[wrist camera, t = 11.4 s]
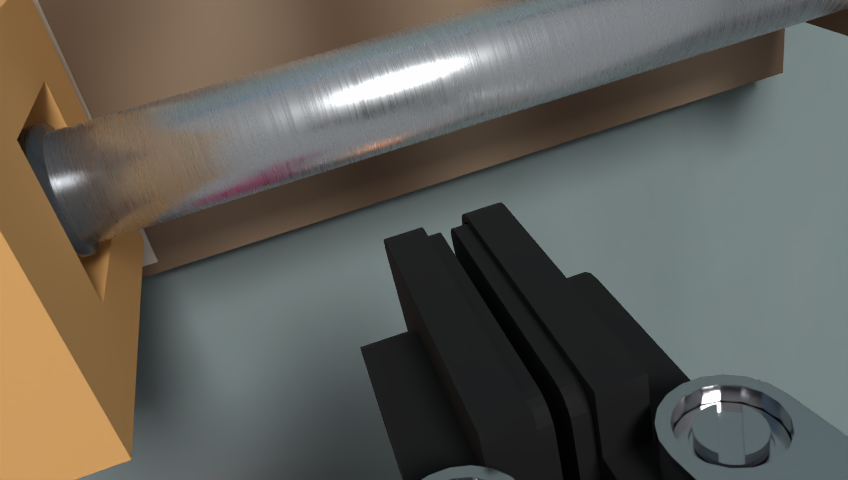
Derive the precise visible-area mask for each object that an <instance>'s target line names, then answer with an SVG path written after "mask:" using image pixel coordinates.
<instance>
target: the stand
mask: <svg viewBox="0 0 848 480" xmlns="http://www.w3.org/2000/svg"><path fill="white" fill-rule="evenodd" d="M499 1H502V0H33V2H34V4H35V7H36V9H37V11H38V13H39V15H40V17H41V19H42V22H43V24H44V26H45V28H46V30H47V32H48V35H49V37H50V39H51V41H52V43H53V45H54V48H55V50H56V52H57V54H58V56H59V58H60V61H61V63H62V65H63V67H64V69H65V71H66V73H67V76H68V78H69V80H70V82H71V84H72V86H73V89H74V91H75V93H76V95H77V97H78V99H79V102H80V104H81V106H82V108H83V110H84V112H85V115H86V117H87V119H88V120H91V119H95V118H98V117H102V116H105V115H109V114H112V113H116V112H119V111H122V110H126V109H129V108H133V107H136V106H140V105H143V104H147V103H150V102H154V101H157V100H160V99H164V98H167V97H171V96H174V95H178V94H181V93H185V92H188V91H192V90H195V89H198V88H202V87H205V86H209V85H212V84H216V83H219V82H223V81H226V80H230V79H233V78H236V77H240V76H243V75H247V74H250V73H254V72H257V71H261V70H264V69H268V68H271V67H274V66H278V65H281V64H285V63H288V62H292V61H295V60H299V59H302V58H306V57H309V56H312V55H316V54H319V53H323V52H326V51H330V50H333V49H337V48H340V47H343V46H347V45H350V44H354V43H357V42H361V41H364V40H368V39H371V38H375V37H378V36H381V35H385V34H388V33H392V32H395V31H399V30H402V29H406V28H409V27H413V26H416V25H419V24H423V23H426V22H430V21H433V20H437V19H440V18H444V17H447V16H451V15H454V14H457V13H461V12H464V11H468V10H471V9H475V8H478V7H482V6H485V5H489V4H492V3H495V2H499ZM806 23H809V24H812V25H816V26H819V27H822V28H825V29H828V30H831V31H834V32H837V33H840V34H844V35H847V36H848V8H847V9H844V10H841V11H838V12H835V13H831V14H828V15H825V16H822V17H819V18H815V19H812V20H809V21H806ZM784 33H785V28H783V29H780V30H777V31H774V32H771V33H767V34H764V35H761V36H758V37H755V38H751V39H748V40H745V41H742V42H739V43H735V44H732V45H729V46H726V47H722V48H719V49H716V50H713V51H710V52H706V53H703V54H700V55H697V56H694V57H690V58H687V59H684V60H681V61H678V62H674V63H671V64H668V65H665V66H662V67H658V68H655V69H652V70H649V71H646V72H642V73H639V74H636V75H633V76H630V77H626V78H623V79H620V80H617V81H614V82H610V83H607V84H604V85H601V86H598V87H594V88H591V89H588V90H585V91H581V92H578V93H575V94H572V95H569V96H565V97H562V98H559V99H556V100H553V101H549V102H546V103H543V104H540V105H537V106H533V107H530V108H527V109H524V110H521V111H517V112H514V113H511V114H508V115H505V116H501V117H498V118H495V119H492V120H489V121H485V122H482V123H479V124H476V125H473V126H469V127H466V128H463V129H460V130H457V131H453V132H450V133H447V134H444V135H440V136H437V137H434V138H431V139H428V140H424V141H421V142H418V143H415V144H412V145H408V146H405V147H402V148H399V149H396V150H392V151H389V152H386V153H383V154H380V155H376V156H373V157H370V158H367V159H364V160H360V161H357V162H354V163H351V164H348V165H344V166H341V167H338V168H335V169H332V170H328V171H325V172H322V173H319V174H316V175H312V176H309V177H306V178H303V179H299V180H296V181H293V182H290V183H287V184H283V185H280V186H277V187H274V188H271V189H267V190H264V191H261V192H258V193H255V194H251V195H248V196H245V197H242V198H239V199H235V200H232V201H229V202H226V203H223V204H219V205H216V206H213V207H210V208H207V209H203V210H200V211H197V212H194V213H191V214H187V215H184V216H181V217H178V218H175V219H171V220H168V221H165V222H162V223H158V224H155V225H152V226H149V227H146V228H142V229H139V231H140V233H141V235H142V238H143V240H144V248H143V265H142V278H144V277H148V276H151V275H154V274H157V273H160V272H163V271H166V270H169V269H172V268H176V267H179V266H182V265H185V264H188V263H191V262H194V261H197V260H200V259H204V258H207V257H210V256H213V255H216V254H219V253H222V252H225V251H228V250H232V249H235V248H238V247H241V246H244V245H247V244H250V243H253V242H257V241H260V240H263V239H266V238H269V237H272V236H275V235H278V234H281V233H285V232H288V231H291V230H294V229H297V228H300V227H303V226H306V225H309V224H313V223H316V222H319V221H322V220H325V219H328V218H331V217H334V216H337V215H341V214H344V213H347V212H350V211H353V210H356V209H359V208H362V207H366V206H369V205H372V204H375V203H378V202H381V201H384V200H387V199H390V198H394V197H397V196H400V195H403V194H406V193H409V192H412V191H415V190H418V189H422V188H425V187H428V186H431V185H434V184H437V183H440V182H443V181H446V180H450V179H453V178H456V177H459V176H462V175H465V174H468V173H471V172H475V171H478V170H481V169H484V168H487V167H490V166H493V165H496V164H499V163H503V162H506V161H509V160H512V159H515V158H518V157H521V156H524V155H527V154H531V153H534V152H537V151H540V150H543V149H546V148H549V147H552V146H555V145H559V144H562V143H565V142H568V141H571V140H574V139H577V138H580V137H584V136H587V135H590V134H593V133H596V132H599V131H602V130H605V129H608V128H612V127H615V126H618V125H621V124H624V123H627V122H630V121H633V120H636V119H640V118H643V117H646V116H649V115H652V114H655V113H658V112H661V111H665V110H668V109H671V108H674V107H677V106H680V105H683V104H686V103H689V102H693V101H696V100H699V99H702V98H705V97H708V96H711V95H714V94H717V93H721V92H724V91H727V90H730V89H733V88H736V87H739V86H742V85H745V84H749V83H752V82H755V81H758V80H761V79H764V78H767V77H770V76H774V75H777V74H780V73H783V55H784Z"/></svg>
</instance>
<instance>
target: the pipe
mask: <svg viewBox="0 0 848 480" xmlns="http://www.w3.org/2000/svg"><path fill="white" fill-rule="evenodd" d="M847 8H848V0H502V1H499V2H495V3H492V4H489V5H485V6H482V7H478V8H475V9H471V10H468V11H464V12H461V13H457V14H454V15H451V16H447V17H444V18H440V19H437V20H433V21H430V22H426V23H423V24H419V25H416V26H413V27H409V28H406V29H402V30H399V31H395V32H392V33H388V34H385V35H381V36H378V37H375V38H371V39H368V40H364V41H361V42H357V43H354V44H350V45H347V46H343V47H340V48H337V49H333V50H330V51H326V52H323V53H319V54H316V55H312V56H309V57H306V58H302V59H299V60H295V61H292V62H288V63H285V64H281V65H278V66H274V67H271V68H268V69H264V70H261V71H257V72H254V73H250V74H247V75H243V76H240V77H236V78H233V79H230V80H226V81H223V82H219V83H216V84H212V85H209V86H205V87H202V88H198V89H195V90H192V91H188V92H185V93H181V94H178V95H174V96H171V97H167V98H164V99H160V100H157V101H154V102H150V103H147V104H143V105H140V106H136V107H133V108H129V109H126V110H122V111H119V112H116V113H112V114H109V115H105V116H102V117H98V118H95V119H91V120H88V121H84V122H81V123H78V124H74V125H71V126H67V127H64V128H60V129H57V130H56V129H55V128H54V127H52V126H51V125H50V124H48V123H40V124H37V125H33V126H30V127H26V128H23V129H22V130H21V132H20V134H19V136H18V138H17V141H18V143H19V145H20V147H21V149H22V151H23V153H24V155H25V156H26V158H27V160H28V162H29V164H30V166H31V168H32V170H33V172H34V174H35V176H36V178H37V179H38V181H39V183H40V185H41V187H42V189H43V191H44V193H45V195H46V197H47V199H48V200H49V202H50V204H51V206H52V208H53V210H54V212H55V214H56V216H57V218H58V220H59V222H60V223H61V225H62V227H63V229H64V231H65V233H66V235H67V237H68V239H69V241H70V243H71V244H72V246H73V248H74V250H75V252H76V254H77V256H78V258H82V257H85V256H89V255H92V254H95V253H96V252H97V250H98V247H99V242H101V241H104V240H107V239H110V238H114V237H117V236H120V235H123V234H126V233H130V232H133V231H136V230H139V229H142V228H146V227H149V226H152V225H155V224H158V223H162V222H165V221H168V220H171V219H175V218H178V217H181V216H184V215H187V214H191V213H194V212H197V211H200V210H203V209H207V208H210V207H213V206H216V205H219V204H223V203H226V202H229V201H232V200H235V199H239V198H242V197H245V196H248V195H251V194H255V193H258V192H261V191H264V190H267V189H271V188H274V187H277V186H280V185H283V184H287V183H290V182H293V181H296V180H299V179H303V178H306V177H309V176H312V175H316V174H319V173H322V172H325V171H328V170H332V169H335V168H338V167H341V166H344V165H348V164H351V163H354V162H357V161H360V160H364V159H367V158H370V157H373V156H376V155H380V154H383V153H386V152H389V151H392V150H396V149H399V148H402V147H405V146H408V145H412V144H415V143H418V142H421V141H424V140H428V139H431V138H434V137H437V136H440V135H444V134H447V133H450V132H453V131H457V130H460V129H463V128H466V127H469V126H473V125H476V124H479V123H482V122H485V121H489V120H492V119H495V118H498V117H501V116H505V115H508V114H511V113H514V112H517V111H521V110H524V109H527V108H530V107H533V106H537V105H540V104H543V103H546V102H549V101H553V100H556V99H559V98H562V97H565V96H569V95H572V94H575V93H578V92H581V91H585V90H588V89H591V88H594V87H598V86H601V85H604V84H607V83H610V82H614V81H617V80H620V79H623V78H626V77H630V76H633V75H636V74H639V73H642V72H646V71H649V70H652V69H655V68H658V67H662V66H665V65H668V64H671V63H674V62H678V61H681V60H684V59H687V58H690V57H694V56H697V55H700V54H703V53H706V52H710V51H713V50H716V49H719V48H722V47H726V46H729V45H732V44H735V43H739V42H742V41H745V40H748V39H751V38H755V37H758V36H761V35H764V34H767V33H771V32H774V31H777V30H780V29H783V28H787V27H790V26H793V25H796V24H799V23H803V22H806V21H809V20H812V19H815V18H819V17H822V16H825V15H828V14H831V13H835V12H838V11H841V10H844V9H847Z"/></svg>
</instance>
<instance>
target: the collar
mask: <svg viewBox="0 0 848 480" xmlns="http://www.w3.org/2000/svg"><path fill="white" fill-rule="evenodd" d="M84 121H88V119H87V117H86V115H85V112H84V110H83V108H82V106H81V104H80V102H79V99H78V97H77V95H76V93H75V91H74V89H73V86H72V84H71V82H70V80H69V78H68V76H67V73H66V71H65V69H64V67H63V65H62V63H61V61H60V58H59V56H58V54H57V52H56V50H55V48H54V45H53V43H52V41H51V39H50V37H49V35H48V32H47V30H46V28H45V26H44V24H43V22H42V19H41V17H40V15H39V13H38V11H37V9H36V7H35V4H34V2H33V0H0V480H75V479H78V478H81V477H84V476H87V475H89V474H92V473H95V472H98V471H101V470H104V469H106V468H109V467H112V466H115V465H118V464H121V463H123V462H126V461H129V460H131V459H132V441H133V423H134V406H135V388H136V371H137V353H138V336H139V318H140V301H141V283H142V265H143V248H144V240H143V238H142V235H141V233H140V231H139V230H136V231H133V232H130V233H126V234H123V235H120V236H117V237H114V238H110V239H107V240H104V241H101V242H99V247H98V250H97V252H96V253H95V254H92V255H89V256H85V257H82V258H78V256H77V254H76V252H75V250H74V248H73V246H72V244H71V243H70V241H69V239H68V237H67V235H66V233H65V231H64V229H63V227H62V225H61V223H60V222H59V220H58V218H57V216H56V214H55V212H54V210H53V208H52V206H51V204H50V202H49V200H48V199H47V197H46V195H45V193H44V191H43V189H42V187H41V185H40V183H39V181H38V179H37V178H36V176H35V174H34V172H33V170H32V168H31V166H30V164H29V162H28V160H27V158H26V156H25V155H24V153H23V151H22V149H21V147H20V145H19V143H18V141H17V138H18V136H19V134H20V132H21V130H22V129H23V128H26V127H30V126H33V125H37V124H40V123H48V124H50V125H51V126H52V127H54V128H55V129H56V130H57V129H60V128H64V127H67V126H71V125H74V124H78V123H81V122H84Z"/></svg>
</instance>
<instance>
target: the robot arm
mask: <svg viewBox="0 0 848 480" xmlns="http://www.w3.org/2000/svg"><path fill="white" fill-rule="evenodd" d="M451 236H452V242H453V246H454V251H455V254H454V253H453V251H452V250H451V248H450V246H449V245H448V243H447V242H446V240H445V238H444V237H443V235H442V234H441V233H437V234H434V235H431V236H428V235H427V233H426V232H425V230H424V229H423V227H422V228H418V229H415V230H412V231H409V232H406V233H402V234H399V235H396V236H393V237H390V238H387V239H384V244H385V249H386V253H387V257H388V260H389V264H390V267H391V271H392V275H393V278H394V282H395V286H396V289H397V293H398V297H399V300H400V304H401V308H402V311H403V315H404V319H405V322H406V326H407V329H408V332H405V333H402V334H399V335H396V336H393V337H390V338H387V339H384V340H381V341H378V342H375V343H372V344H369V345H366V346H363V347H360V348H361V351H362V355H363V358H364V361H365V364H366V367H367V370H368V374H369V377H370V380H371V383H372V386H373V389H374V392H375V396H376V399H377V402H378V405H379V408H380V411H381V414H382V417H383V421H384V424H385V427H386V430H387V433H388V436H389V439H390V442H391V445H392V448H393V451H394V454H395V458H396V461H397V464H398V467H399V470H400V473H401V476H402V479H403V480H848V436H846V435H845V434H844V433H842V432H841V431H839V430H838V429H837V428H835V427H834V426H832V425H831V424H830V423H828V422H827V421H825V420H824V419H823V418H821V417H820V416H818V415H817V414H816V413H814V412H813V411H811V410H810V409H809V408H807V407H806V406H804V405H803V404H802V403H800V402H799V401H797V400H796V399H795V398H793V397H792V396H790V395H789V394H787V393H786V392H784V391H782V390H780V389H778V388H776V387H775V386H773V385H771V384H769V383H767V382H763V381H760V380H756V379H753V378H749V377H746V376H734V375H715V376H706V377H700V378H697V379H694V380H691V381H690V379H689V378H688V377H687V376H686V375H685V374H684V373H683V372H682V371H681V370H680V369H679V367H678V366H677V365H676V364H675V363H674V362H673V361H672V360H671V359H670V358H669V357H668V355H667V354H666V353H665V352H664V351H663V350H662V349H661V348H660V347H659V346H658V345H657V344H656V342H655V341H654V340H653V339H652V338H651V337H650V336H649V335H648V334H647V333H646V332H645V330H644V329H643V328H642V327H641V326H640V325H639V324H638V323H637V322H636V321H635V320H634V318H633V317H632V316H631V315H630V314H629V313H628V312H627V311H626V310H625V309H624V308H623V307H622V305H621V304H620V303H619V302H618V301H617V300H616V299H615V298H614V297H613V296H612V295H611V293H610V292H609V291H608V290H607V289H606V288H605V287H604V286H603V285H602V284H601V283H600V281H599V280H598V279H597V278H596V277H594V276H593V275H592V274H591V273H587V272H584V273H581V274H578V275H575V276H572V277H569V278H566V277H565V276H564V275H563V273H562V272H561V271H560V270H559V269H558V268H557V266H556V265H555V264H554V263H553V262H552V260H551V259H550V258H549V257H548V256H547V255H546V253H545V252H544V251H543V250H542V249H541V248H540V246H539V245H538V244H537V243H536V242H535V240H534V239H533V238H532V237H531V236H530V235H529V233H528V232H527V231H526V230H525V229H524V228H523V226H522V225H521V224H520V223H519V222H518V221H517V219H516V218H515V217H514V216H513V215H512V213H511V212H510V211H509V210H508V209H507V208H506V206H505V205H504V204H503V203H497V204H494V205H490V206H487V207H484V208H481V209H478V210H475V211H472V212H468V213H465V214H463V215H462V226H459V227H456V228H452V229H451ZM455 255H456V256H455Z"/></svg>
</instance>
